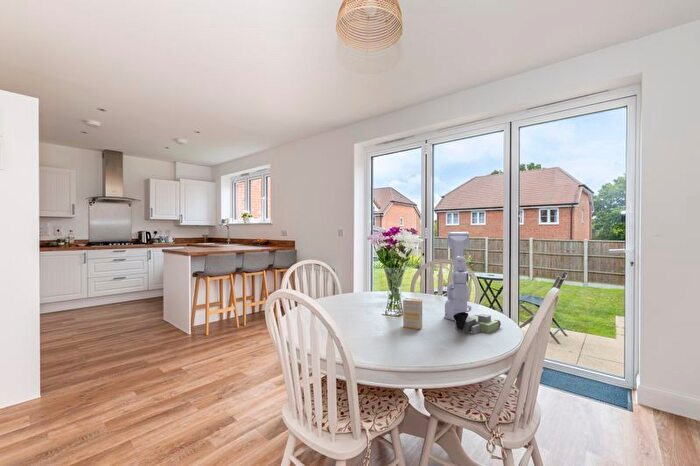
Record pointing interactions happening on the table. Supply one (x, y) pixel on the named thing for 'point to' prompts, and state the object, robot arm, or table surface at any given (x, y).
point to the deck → (483, 324)
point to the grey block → (468, 325)
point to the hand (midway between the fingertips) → (460, 329)
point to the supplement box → (412, 313)
